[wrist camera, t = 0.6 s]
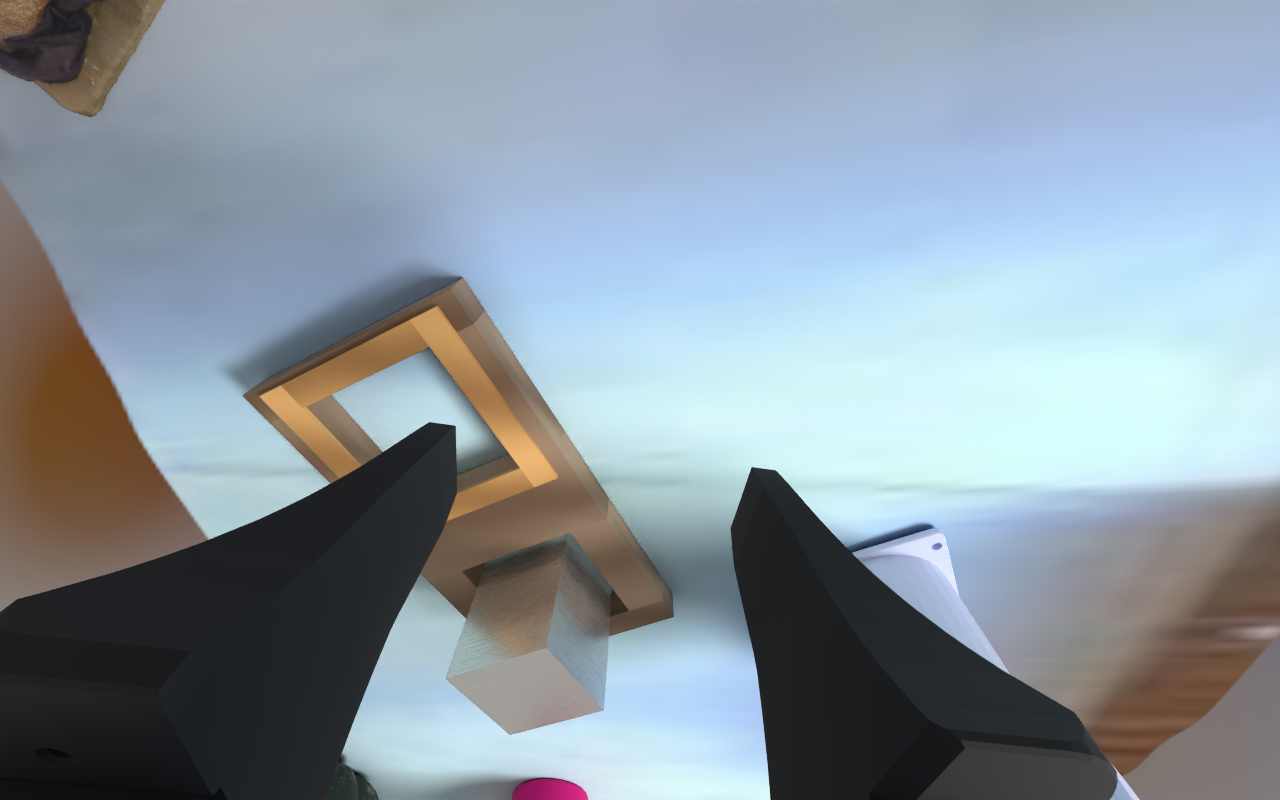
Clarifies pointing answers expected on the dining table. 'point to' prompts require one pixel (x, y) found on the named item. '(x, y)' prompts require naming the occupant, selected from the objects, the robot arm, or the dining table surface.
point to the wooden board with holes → (491, 493)
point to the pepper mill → (549, 790)
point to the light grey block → (536, 637)
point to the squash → (349, 786)
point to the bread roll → (72, 45)
